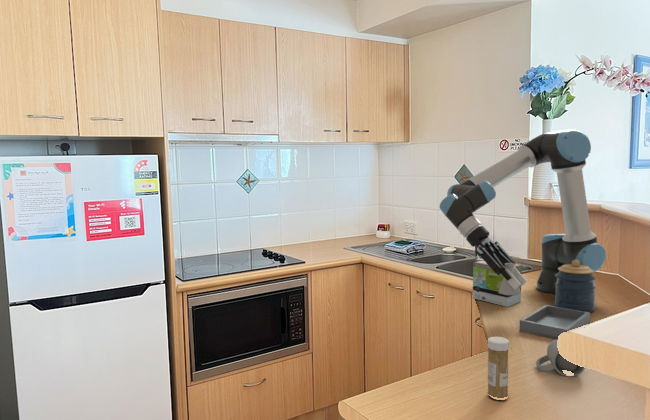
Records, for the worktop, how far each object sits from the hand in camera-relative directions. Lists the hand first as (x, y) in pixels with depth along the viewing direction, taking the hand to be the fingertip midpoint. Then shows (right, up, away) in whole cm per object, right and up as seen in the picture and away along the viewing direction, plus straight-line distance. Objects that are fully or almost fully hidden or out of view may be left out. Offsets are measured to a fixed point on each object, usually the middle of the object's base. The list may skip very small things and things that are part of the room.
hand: (520, 285), depth 161 cm
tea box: (+1, -10, +26) cm, 28 cm away
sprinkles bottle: (-25, -18, -50) cm, 59 cm away
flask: (-3, -3, +3) cm, 5 cm away
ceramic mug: (-5, -16, -37) cm, 40 cm away
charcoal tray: (+9, -13, -4) cm, 16 cm away
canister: (+25, -11, +15) cm, 31 cm away
